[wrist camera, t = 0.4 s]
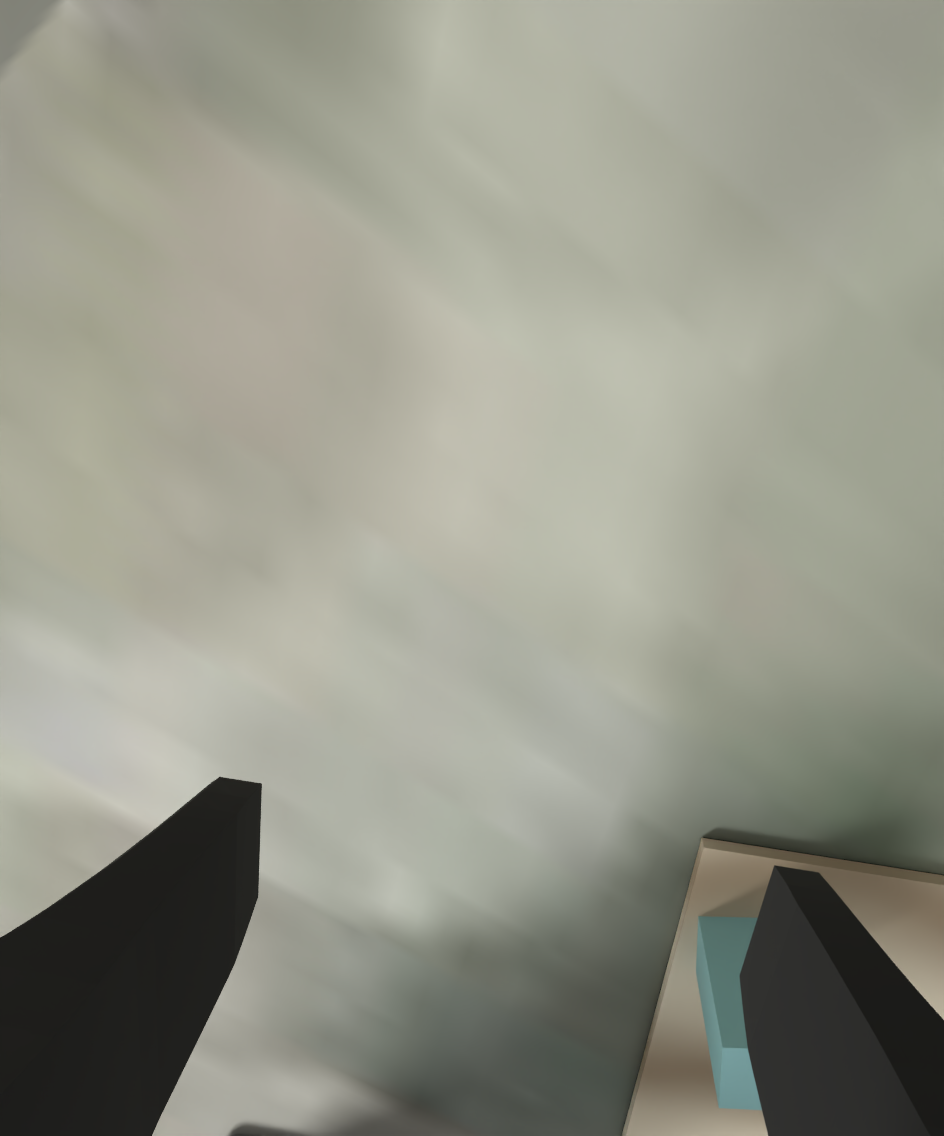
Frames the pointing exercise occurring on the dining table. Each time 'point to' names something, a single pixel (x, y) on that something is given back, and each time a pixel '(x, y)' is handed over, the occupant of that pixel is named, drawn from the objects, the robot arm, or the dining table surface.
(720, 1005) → the post
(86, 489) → the dining table surface
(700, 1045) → the board
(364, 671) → the dining table surface
